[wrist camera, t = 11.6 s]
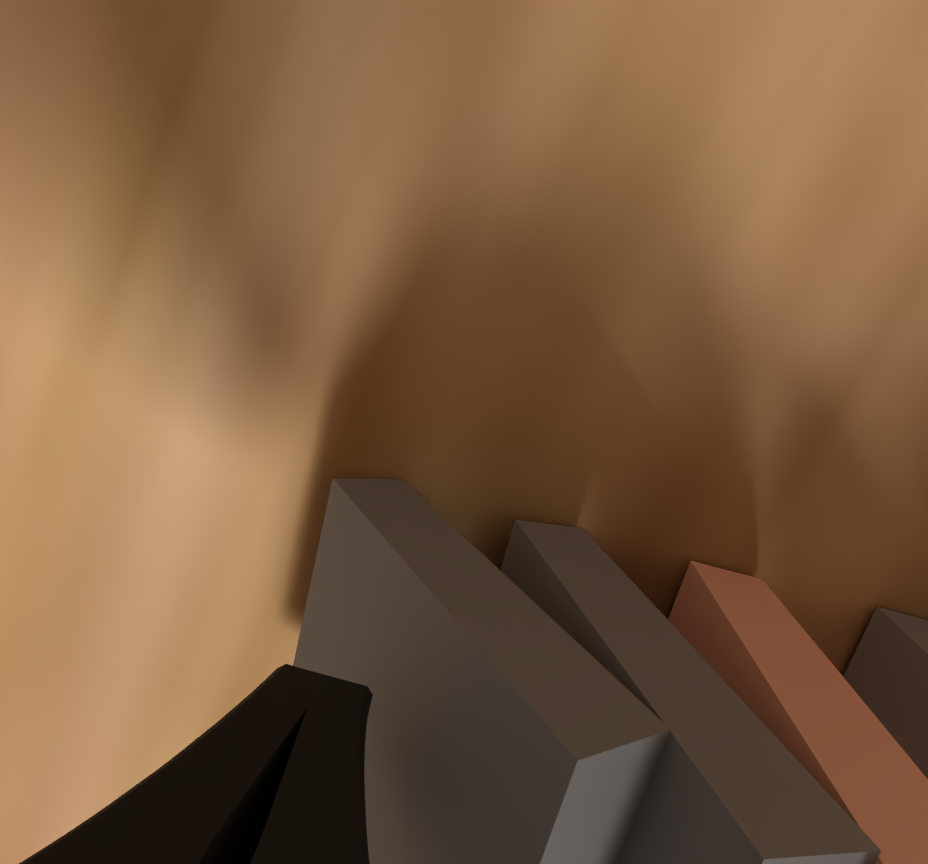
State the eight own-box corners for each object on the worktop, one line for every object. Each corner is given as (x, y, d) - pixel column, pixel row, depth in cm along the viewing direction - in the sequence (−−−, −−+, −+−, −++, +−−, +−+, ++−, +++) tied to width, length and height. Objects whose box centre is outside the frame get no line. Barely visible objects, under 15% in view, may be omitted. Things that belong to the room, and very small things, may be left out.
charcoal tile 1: (402, 479, 13) (670, 729, 7) (354, 677, 14) (552, 1018, 9) (331, 478, 12) (577, 761, 6) (288, 689, 13) (462, 1075, 8)
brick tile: (762, 579, 13) (1057, 935, 6) (681, 769, 14) (850, 1239, 7) (690, 560, 13) (903, 896, 6) (616, 751, 14) (723, 1209, 7)
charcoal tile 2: (583, 528, 13) (880, 851, 6) (518, 721, 14) (713, 1154, 8) (515, 519, 12) (764, 860, 6) (454, 721, 13) (605, 1182, 7)
